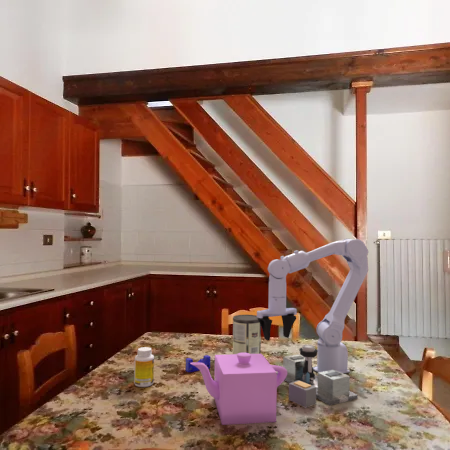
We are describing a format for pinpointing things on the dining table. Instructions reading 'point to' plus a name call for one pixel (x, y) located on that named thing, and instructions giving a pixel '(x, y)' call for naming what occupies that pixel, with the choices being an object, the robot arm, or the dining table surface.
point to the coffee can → (246, 334)
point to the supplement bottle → (144, 368)
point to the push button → (308, 362)
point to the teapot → (243, 387)
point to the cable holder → (205, 360)
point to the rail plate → (320, 381)
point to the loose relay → (302, 393)
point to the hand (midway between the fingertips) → (276, 338)
